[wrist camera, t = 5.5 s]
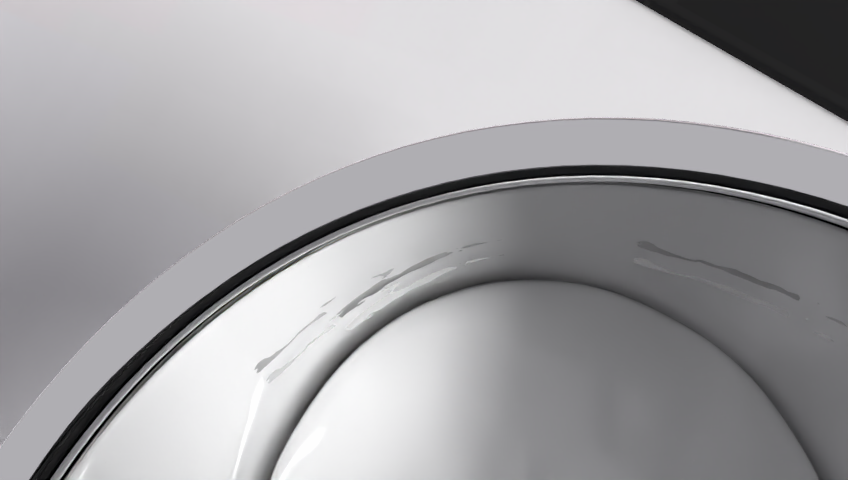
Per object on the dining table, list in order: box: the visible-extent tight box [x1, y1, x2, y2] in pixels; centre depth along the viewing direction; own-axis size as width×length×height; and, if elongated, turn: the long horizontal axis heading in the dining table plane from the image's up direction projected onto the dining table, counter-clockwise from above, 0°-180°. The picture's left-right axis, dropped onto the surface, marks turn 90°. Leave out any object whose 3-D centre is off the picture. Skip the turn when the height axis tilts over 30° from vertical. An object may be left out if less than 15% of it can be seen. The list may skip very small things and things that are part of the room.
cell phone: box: [636, 0, 848, 121], centre depth 24 cm, size 9×18×1 cm, turn 50°
